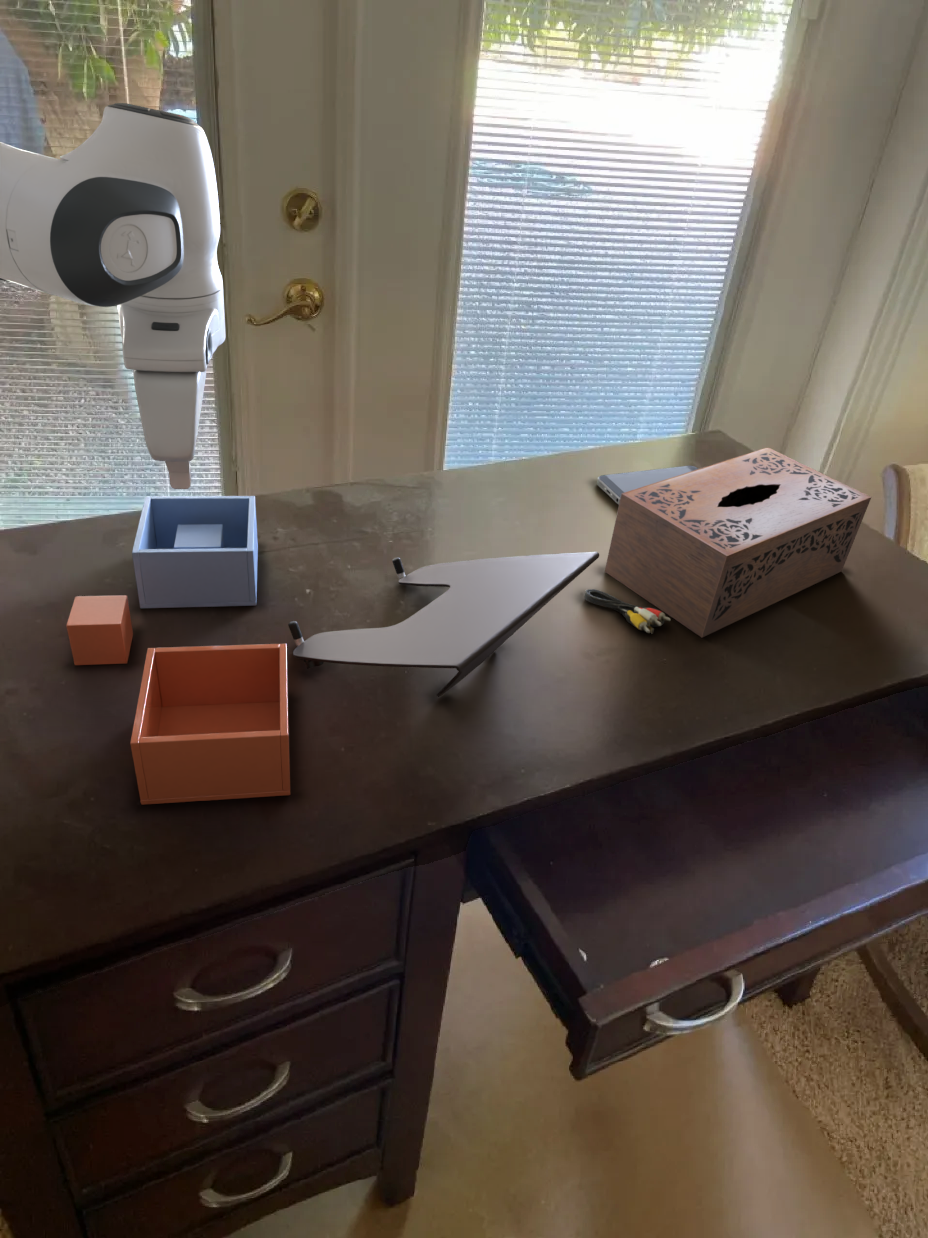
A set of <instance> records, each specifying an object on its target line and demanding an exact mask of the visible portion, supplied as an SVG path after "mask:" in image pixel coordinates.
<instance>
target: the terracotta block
mask: <svg viewBox="0 0 928 1238" xmlns="http://www.w3.org/2000/svg"><path fill="white" fill-rule="evenodd" d="M73 599H74V600H73V603H72V605H71V606H72V607H71V608H70V613H69V615H68V619H67V622H66V631H67V635H68V640H69V645H70V649H71V654H72V658H73V663H74V666H93V665H94V666H95V665H120V664H121V665H123V664H124V665H125V664H128V661H129V657H130V651H131V646H132V641H133V637H134V630H133V624H132V623H133V622H132V617H131V611H130V606H129V600H128V599H129V598H128V595H125V594H124V595H122V594H121V595H85V596H84V595H83V596H82V595H79V596H78V595H77V596H75V597H74V598H73Z"/></svg>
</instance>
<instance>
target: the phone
mask: <svg viewBox="0 0 928 1238" xmlns="http://www.w3.org/2000/svg"><path fill="white" fill-rule="evenodd" d="M697 469H699V468H698V467H696V466H694V465H682V466H681V465H680V466H673V467H664V468H656V469H655V468H653V469H646V470H637V471H627V472H619V473H610V474H602V475H599V476H598V477H597V480H596V481H597V482H596V484H597V486H598V487H599V488H600V489H601V490H602V491H603V492H605V494H606V495H608V496H609V498H611V499H612V500H613V501H614V502H615V503H616V504H617V505H618V506H619V503H620V498H621V494H622V493H625V492H628V491H631V490H634V489H637V488H641V487H644V486H647V485H650V484H653V483H656V482H659V481H663V480H666V479H669V478H672V477H675V476H678V475H681V474H685V473H688V472H691V471H694V470H697Z"/></svg>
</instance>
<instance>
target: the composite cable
mask: <svg viewBox="0 0 928 1238" xmlns="http://www.w3.org/2000/svg"><path fill="white" fill-rule="evenodd" d="M583 598H584V600H585V601H587V602H589V603H591V604H594V605H597V606H600V607H604V608H608V609H611V610H614V611H617V612H619V614H621V615H622V616H623V617H624V618H625V620H626V622H628V623H629V624H630V625H631V626H633V627H634V628H636V629H637V630H639V631H643V632H645V633H647V634H650V633H651V635H652V634H654V631H655V628H656V627H661V626H662V625H664V623H665V621H667V622H671V617H668V616H666V613H665V612H663V611H662V610H660V609H658V608H655V607H646V606H640V605H634V604H631V603H628V602H624V601H623V600H621V599H619V598H617V597H615V596H613V595H611V594H609V593H607V592H605V591H602V590H600V589H595V588H593V589H592V588H590V589H589V588H588V589H585V591H584V596H583ZM654 627H655V628H654Z"/></svg>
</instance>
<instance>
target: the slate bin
mask: <svg viewBox="0 0 928 1238" xmlns="http://www.w3.org/2000/svg"><path fill="white" fill-rule="evenodd" d="M256 506H257V504H256V496H255V495H152V496H150V495H146V496H144V501H143V505H142V509H141V513H140V517H139V520H138V526H137V530H136V534H135V539H134V541H133V546H132V552H131V555H132V563H133V569H134V577H135V582H136V590H137V595H138V603H139V608H140V609H167V608H168V609H170V608H172V609H173V608H174V609H175V608H176V609H177V608H208V607H209V608H210V607H211V608H213V607H214V608H215V607H246V606H247V607H250V606H257V600H258V599H257V598H258V597H257V593H258V563H259V562H258V557H259V544H258V543H259V541H258V525H257V507H256ZM201 524H223V535H224V547H225V548H223V549H174V544H175V538H176V532H177V526H178V525H201Z"/></svg>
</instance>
